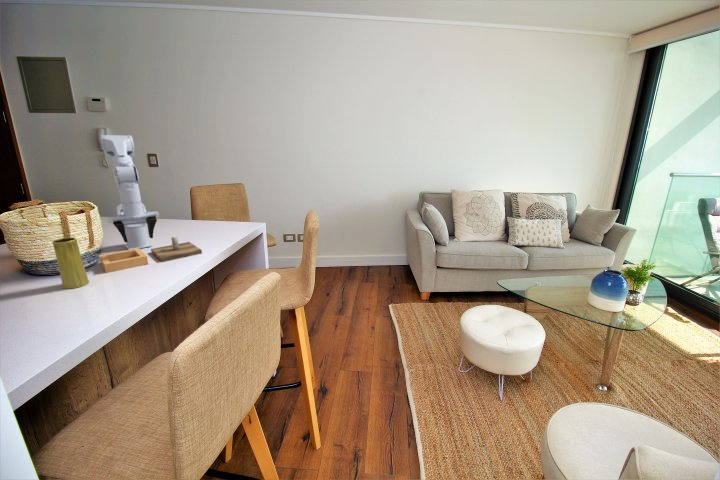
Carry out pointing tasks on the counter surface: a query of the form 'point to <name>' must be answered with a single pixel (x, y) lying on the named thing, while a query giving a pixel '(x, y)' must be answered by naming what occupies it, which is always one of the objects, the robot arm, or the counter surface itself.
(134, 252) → the wooden square frame
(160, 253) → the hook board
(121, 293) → the counter surface
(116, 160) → the robot arm
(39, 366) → the counter surface
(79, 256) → the vase
